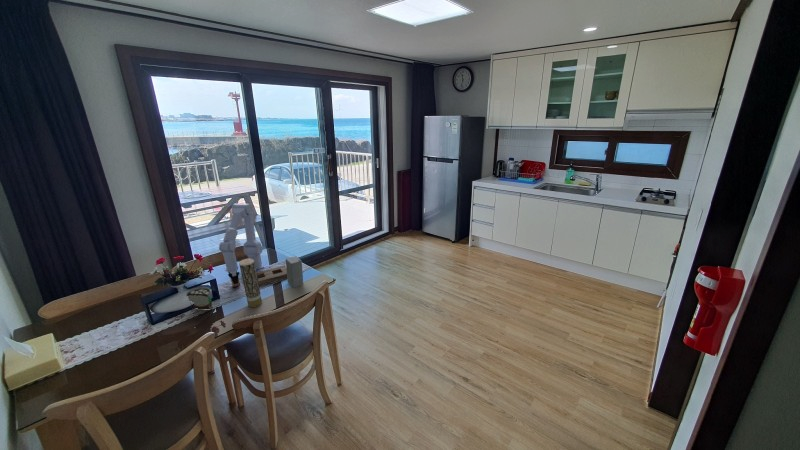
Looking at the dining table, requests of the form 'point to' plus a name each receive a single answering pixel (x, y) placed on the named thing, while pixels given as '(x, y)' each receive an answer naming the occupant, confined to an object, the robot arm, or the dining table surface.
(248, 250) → the robot arm
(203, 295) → the food container
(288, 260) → the skincare box
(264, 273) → the bore board
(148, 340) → the dining table surface
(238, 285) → the pin
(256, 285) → the paper tube
